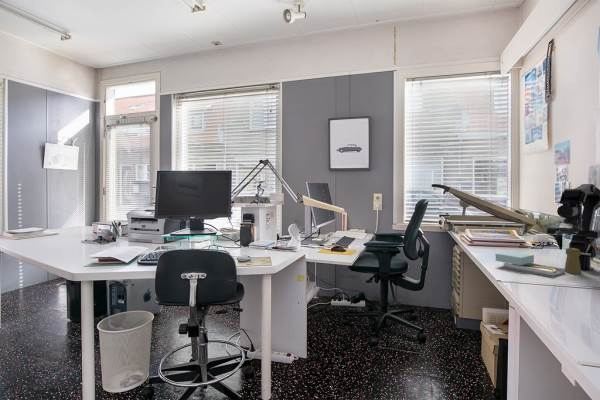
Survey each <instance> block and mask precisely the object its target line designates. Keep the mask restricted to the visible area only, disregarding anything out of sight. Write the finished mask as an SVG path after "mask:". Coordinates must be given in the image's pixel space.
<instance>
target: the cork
mask: <svg viewBox="0 0 600 400" xmlns="http://www.w3.org/2000/svg"><path fill="white" fill-rule="evenodd" d="M565 255H566V258H565V266H564V268H565V273H566V274H569V275H581V274H582V269H581V268H580V262H579V255H580V250H579V249H576V248H569V247H567V248H566V249H565Z"/></svg>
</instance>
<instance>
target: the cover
mask: <svg viewBox="0 0 600 400" xmlns="http://www.w3.org/2000/svg"><path fill="white" fill-rule="evenodd" d="M495 262H499V263H508V264H516V265H525V264H529V263H534V262H535V254H530V253H529V254H528V253H523V252H522V253H521V252H516V251H503V252H497V253H495Z"/></svg>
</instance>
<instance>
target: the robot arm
mask: <svg viewBox="0 0 600 400" xmlns="http://www.w3.org/2000/svg"><path fill="white" fill-rule="evenodd" d="M559 205H560V206H558V208H557V210H556V213H557V215H558V216H559V217H561V218H562V219H563V222H562V223H561V224H560V225H559V226H558V227H557V226H550V227H547V228H546V234H549V235H550V236H552V238H554V240H555V242H556V243H557V246H558V249H559V250H560V251H562V250H563V240H564V238H563V235H570V236H571V240H570V242H569V244H568V248H576V249H579V250H580V255H579V262H580V268H581V270H585V271H590V270H591V271H592V270H593V269H595V268H594V267H593V266H592V267H591V265H592V261H591V260H592V259H591V258H597V250H596V247H595V243H594V241H595V240H598V239H599V238H600V230H598V229H593V224H594V221H595V216H596V211H597V210H598V209H600V189H599V188H598V187H597V186H596V185H595V184H593V183H582V184H580V185H578V186H577V187H575V188H565V189H564V190H563V191H562V192H561V197H560V199H559Z"/></svg>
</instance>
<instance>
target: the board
mask: <svg viewBox="0 0 600 400" xmlns="http://www.w3.org/2000/svg"><path fill="white" fill-rule="evenodd" d="M502 268H503V269H506V270H511V271H517V272H521V273H526V274H531V275H538V276H542V277H547V278H554V277H558V276H561V275H564V274H565V267H560V266H554V265H553V266H552V265H547V264H540V263H536V262H535V263H534V262H533V263H529V264H525V265H516V264H511V263H505V262H503V267H502Z"/></svg>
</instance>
